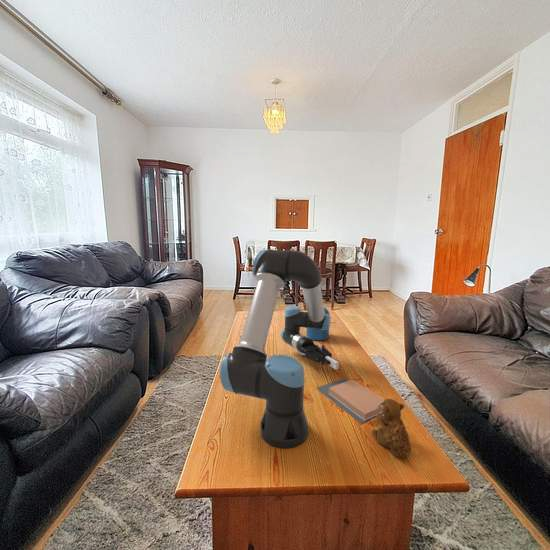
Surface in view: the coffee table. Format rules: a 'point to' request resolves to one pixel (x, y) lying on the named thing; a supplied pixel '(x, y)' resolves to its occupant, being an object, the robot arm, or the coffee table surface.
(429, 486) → the coffee table surface
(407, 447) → the stuffed squirrel
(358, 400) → the tile
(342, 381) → the mat
